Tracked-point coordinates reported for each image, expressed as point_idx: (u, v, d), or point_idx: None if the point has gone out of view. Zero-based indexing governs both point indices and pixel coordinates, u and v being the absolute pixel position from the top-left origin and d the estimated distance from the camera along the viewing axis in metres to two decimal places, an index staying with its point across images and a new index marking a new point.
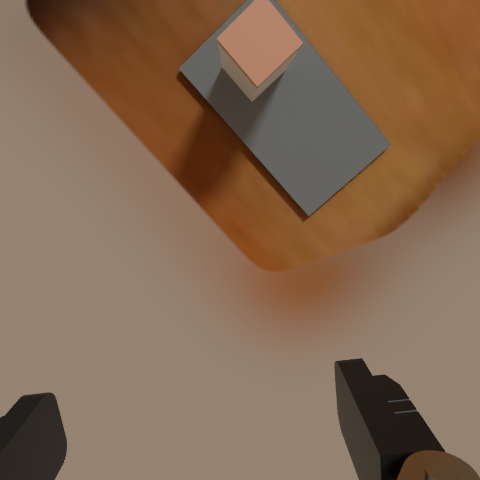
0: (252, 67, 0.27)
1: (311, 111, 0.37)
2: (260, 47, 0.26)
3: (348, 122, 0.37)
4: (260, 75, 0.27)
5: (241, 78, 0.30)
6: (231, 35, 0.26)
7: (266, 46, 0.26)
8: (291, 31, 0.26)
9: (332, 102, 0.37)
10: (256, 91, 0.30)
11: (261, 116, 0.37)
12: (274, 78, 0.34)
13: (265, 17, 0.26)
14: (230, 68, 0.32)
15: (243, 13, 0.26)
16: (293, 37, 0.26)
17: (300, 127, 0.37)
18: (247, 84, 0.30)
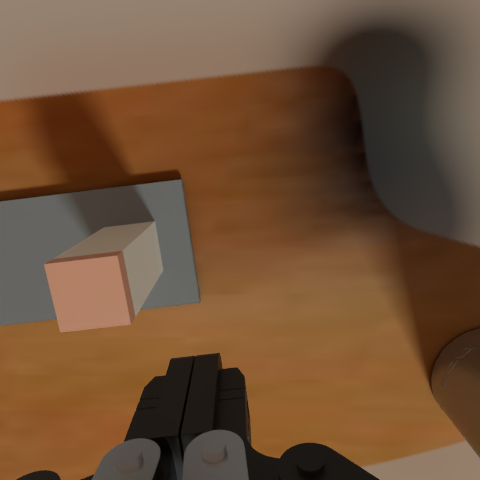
0: (66, 271, 0.22)
1: None
2: (81, 291, 0.22)
3: (28, 302, 0.33)
4: (53, 274, 0.22)
5: (96, 243, 0.25)
6: (110, 271, 0.22)
7: (78, 297, 0.22)
8: (77, 327, 0.23)
9: None
10: None
11: (85, 227, 0.31)
12: None
13: (106, 313, 0.22)
14: (122, 236, 0.27)
15: (123, 295, 0.22)
16: (71, 326, 0.22)
17: (50, 256, 0.32)
18: (84, 246, 0.25)
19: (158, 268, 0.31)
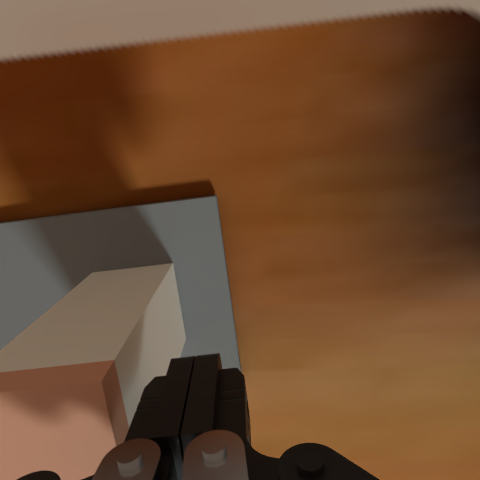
0: None
1: None
2: (25, 452, 0.10)
3: None
4: None
5: (70, 322, 0.14)
6: (87, 413, 0.10)
7: (21, 462, 0.10)
8: None
9: None
10: None
11: (62, 272, 0.20)
12: None
13: None
14: (118, 302, 0.15)
15: None
16: None
17: (8, 318, 0.20)
18: (45, 329, 0.13)
19: (179, 341, 0.19)
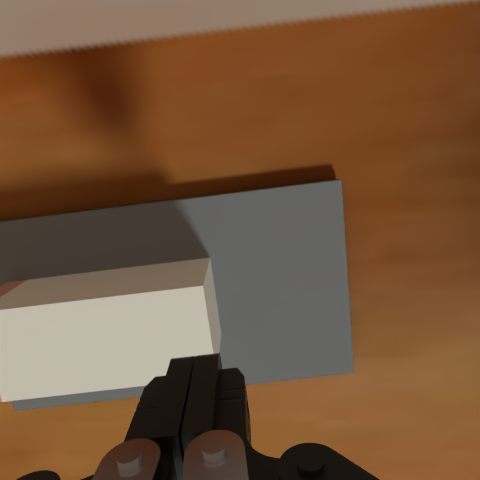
0: None
1: None
2: None
3: None
4: None
5: (75, 282, 0.18)
6: None
7: None
8: None
9: None
10: None
11: (180, 257, 0.20)
12: None
13: None
14: (95, 288, 0.17)
15: None
16: None
17: None
18: (72, 279, 0.19)
19: None
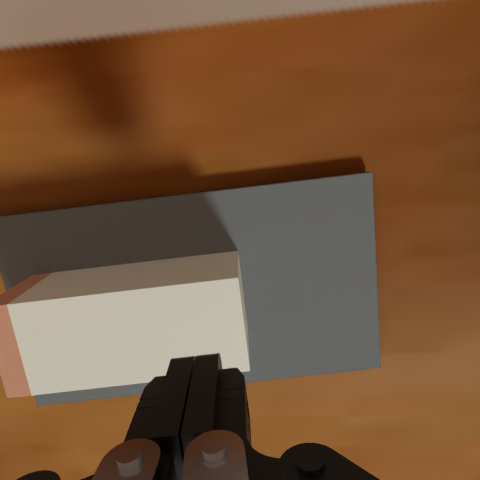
0: None
1: None
2: None
3: None
4: None
5: (103, 275, 0.18)
6: None
7: None
8: None
9: None
10: None
11: (208, 250, 0.19)
12: None
13: None
14: (126, 281, 0.17)
15: None
16: None
17: None
18: (99, 271, 0.19)
19: None
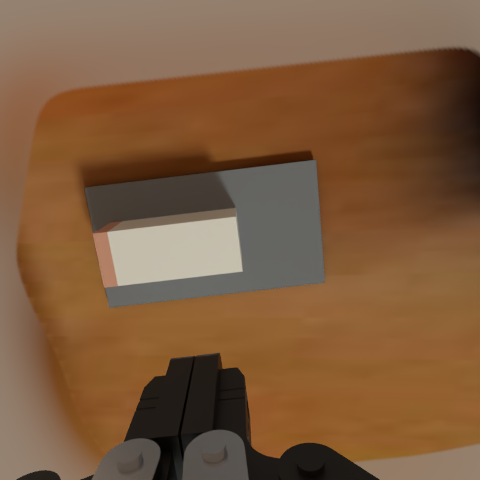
0: None
1: None
2: None
3: (156, 282, 0.33)
4: None
5: (156, 220, 0.30)
6: None
7: None
8: None
9: (185, 279, 0.33)
10: (148, 219, 0.32)
11: (217, 207, 0.32)
12: None
13: None
14: (171, 221, 0.29)
15: (99, 264, 0.29)
16: None
17: None
18: (152, 219, 0.31)
19: (220, 265, 0.29)
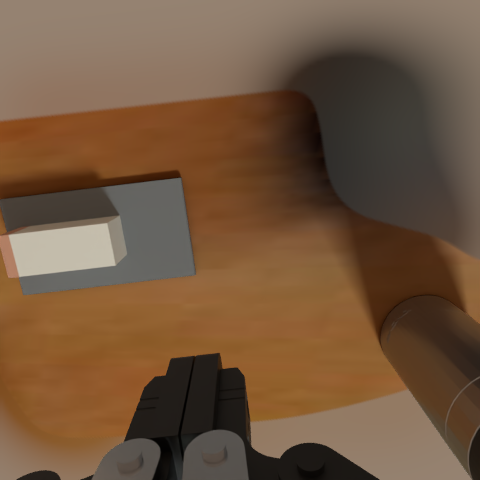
0: None
1: None
2: None
3: (60, 275, 0.41)
4: None
5: (53, 225, 0.39)
6: None
7: None
8: None
9: (83, 272, 0.41)
10: (50, 224, 0.40)
11: (105, 215, 0.40)
12: None
13: None
14: (61, 226, 0.37)
15: (4, 260, 0.37)
16: None
17: None
18: (52, 224, 0.39)
19: (98, 261, 0.37)
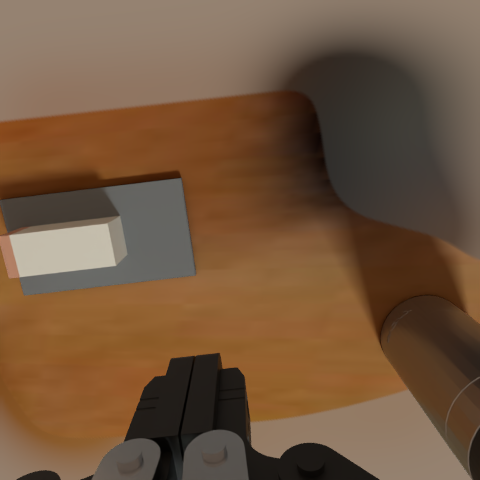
0: None
1: None
2: None
3: (60, 275, 0.41)
4: None
5: (53, 225, 0.39)
6: None
7: None
8: None
9: (83, 273, 0.41)
10: (51, 225, 0.40)
11: (105, 215, 0.40)
12: None
13: None
14: (62, 226, 0.37)
15: (5, 260, 0.37)
16: None
17: None
18: (52, 225, 0.39)
19: (98, 261, 0.37)
